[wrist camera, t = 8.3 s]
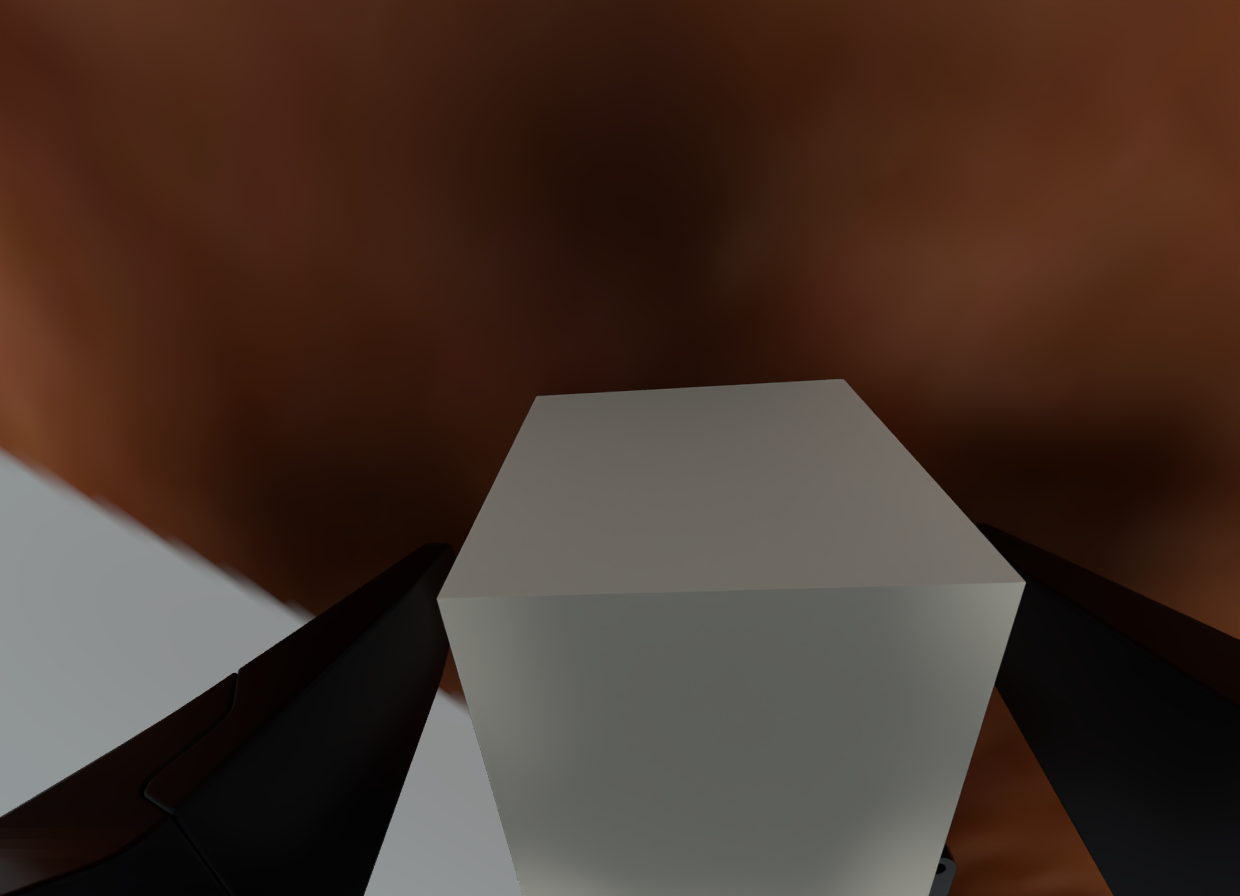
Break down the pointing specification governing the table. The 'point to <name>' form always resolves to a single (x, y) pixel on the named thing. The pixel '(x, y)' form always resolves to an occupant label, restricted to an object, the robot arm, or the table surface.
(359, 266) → the table surface
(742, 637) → the cube cream
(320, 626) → the robot arm
